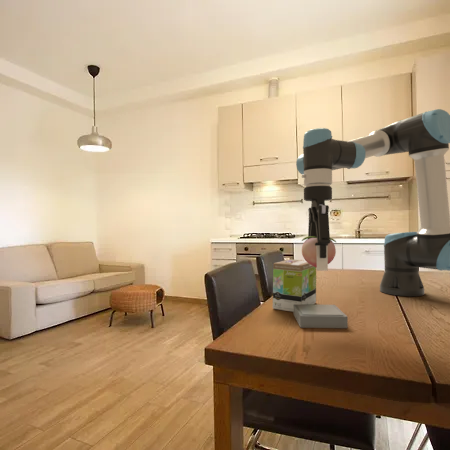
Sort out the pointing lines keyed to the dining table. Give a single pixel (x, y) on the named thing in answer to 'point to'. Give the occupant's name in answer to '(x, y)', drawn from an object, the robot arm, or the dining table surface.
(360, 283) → the dining table surface
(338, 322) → the slate trivet
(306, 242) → the decorative fruit
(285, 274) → the tea box
